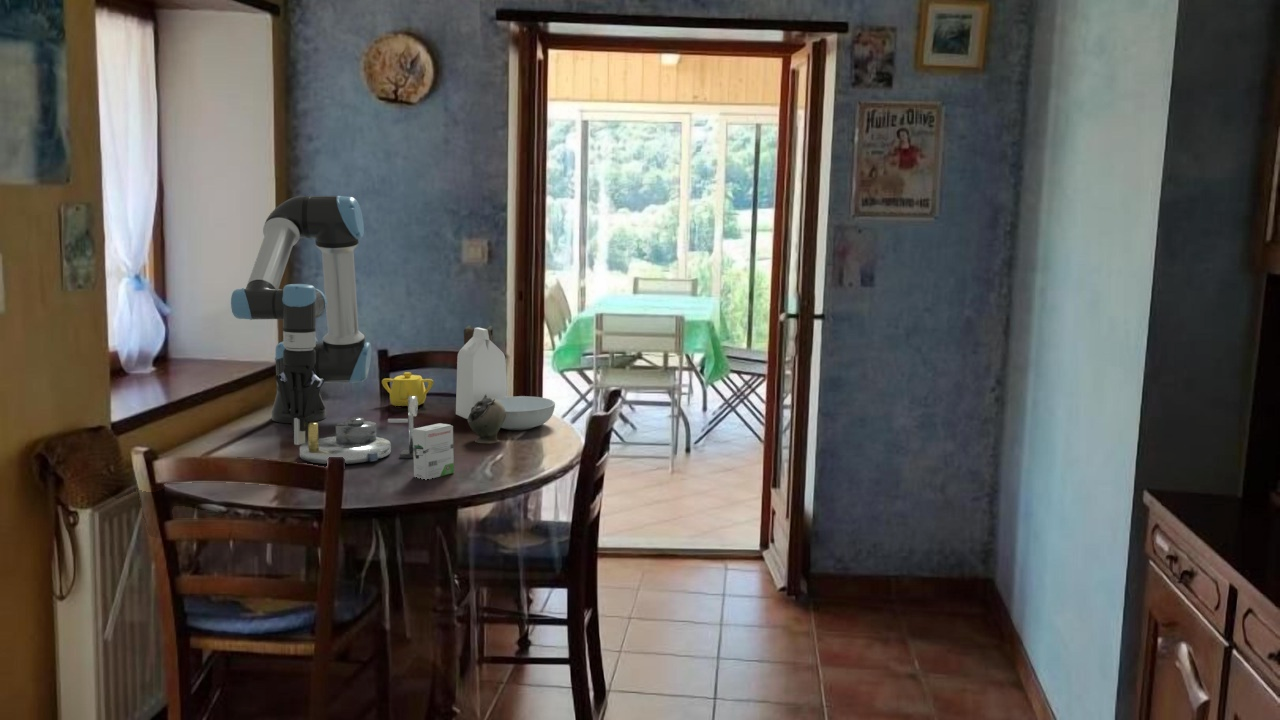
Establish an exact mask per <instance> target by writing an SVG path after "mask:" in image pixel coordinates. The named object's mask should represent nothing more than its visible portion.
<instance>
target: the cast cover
mask: <svg viewBox="0 0 1280 720" xmlns="http://www.w3.org/2000/svg"><path fill="white" fill-rule="evenodd" d="M335 436H336V442H337V443H340V444H349V445H355V444H366V443H371V442H374V441H376V437H377V423H376V422H374V421H370V420H365V419H364V417H361V416H359V417H357V416H356V417H349V418H347V421H342V422H339V423H337V424H335Z"/></svg>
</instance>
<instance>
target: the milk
mask: <svg viewBox="0 0 1280 720" xmlns="http://www.w3.org/2000/svg"><path fill="white" fill-rule="evenodd" d="M473 328H474V333H473V337H472V338H471V339H470V340H469V341H468V342H467V343H466V344H465V345H464V344H463V346H462V347H461V348H460V349H459V351H458V353H457V356H456V358H457V360H456V364H457V365H456V393H455V394H456V396H455V397H456V398H455V399H456V400H455V415H457V416H459V417H461V418H463V419H466V420H467V419H468V417H469V415H470V413H471V408H472V407H474V406H475V404H476V403H477V402H478V401H481V400H482V399H483V398H484V396H485V394H486V396H487V398H492V399H496V398H503V397H509V395H508V381H507V379H508V378H507V365H506V363H507V361H506V356H505V353H504V352H503V351H502V350H501V349H500V348H499V347H498V346H497V345H496V344H495V342H494V343H492V342H491V341H490V340H489V335H488V330H487V329H483V328H484V327H482V328H477V327H473Z"/></svg>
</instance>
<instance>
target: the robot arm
mask: <svg viewBox="0 0 1280 720" xmlns="http://www.w3.org/2000/svg"><path fill="white" fill-rule="evenodd" d="M362 212H363V211H362V209H361V205H360V204H359V202H358V200H357V199H356V198H354V197H353V196H346V195H345V196H342V195H298V196H294V197H291V198H289V199H287V200H285V201H284V202H282V203H280V204H279V205H278V206H277V207H275V208H274V209H273V210H272V211H271V213H270V214H268V216H267V218H266V220H265V222H264V225H263V228H262V229H263V230H262V234H263V236H264V237H263V239H262V242H261V246H260V247H259V250H258V253H257V256H256V259H255V261H254V265H253V268H252V270H251V273H250V275H249V279H248V281H247V284H246V286H245V288H244V287H243V288H237V289H235V290H233V292H232V293H231V297H230V308H231V313H232V315H233V317H234V318H236V319H239V320H249V321H252V320H282V323H283V324H282V326H283V327H282V329H283V330H282V336H283V339H282V341H281V342H279V343H278V344H277V345H276V346H275V357H274V361H275V377H274V378H275V381H276V395H275V398H274V403H273V406H272V410H271V421H272V422H276V423H280V424H282V423H283V424H291V429H292V431H294V432H293V434H294V435H293V440H294V441H293V442H294V443H293V444H294V445H295V446H299V445H300V446H301V445H302V444H304V443H306V431H308V423H312V422H318V421H322V420H324V419H326V418H327V410H326V406H325V403H324V401H323V398H322V396H321V393H320V392H321V388H322V386H323V385H324V383H325V384H327V383H328V384H329V383H331V384H332V383H338V384H339V383H341V384H344V383H346V384H352V383H362V382H364V381H366V379H367V378H368V376H369V372H370V367H371V360H372V344H371V343H370V342H368V341H366V339H365V334H364V333H362V332H361V331H360V330H359V317H358V301H357V300H358V299H357V285H356V284H357V283H356V268H355V255H354V250H355V249H356V248H357V247H358V246H359V240H360V239H362V238H363V237H364V235H365V234H364V233H365V229H364V227H365V223H364V216H363V213H362ZM300 239H314V240H315V241H314V242H315V243H314V244H315V247H316V248H317V249H319V250H320V252H321V257H322V260H321V261H322V272H323V285H324V292H323V291H322V290H320V289H318V288H315V286H314V285H312V284H307V283H305V284H304V283H291V284H286V285H284V286H283V289H281V288H280V286H281V282H282V278H283V277H284V276H283V275H284V273H285V270H286V267H287V264H288V262H289V258H290V255H291V252H292V249H293V246H295V245H296V244H297V243H298V242H299V240H300ZM325 311H326V324H327V326H326V327H327V333H326V334H325V335H324V336H322V342H319V341H318V337H317V336H316V334H317V333H316V318H319V317H321V316H322V315H323V314H324V312H325Z"/></svg>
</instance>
